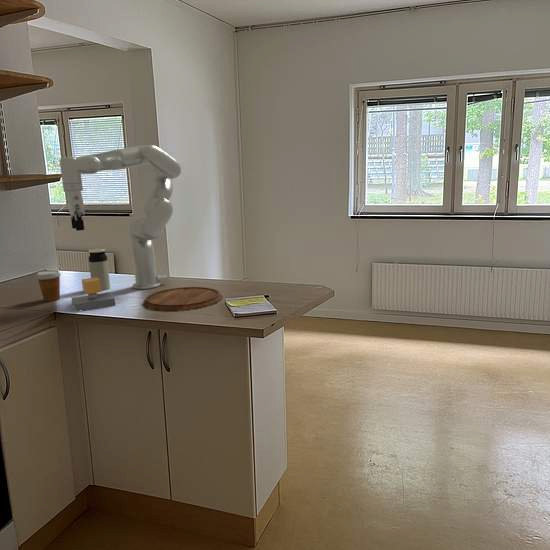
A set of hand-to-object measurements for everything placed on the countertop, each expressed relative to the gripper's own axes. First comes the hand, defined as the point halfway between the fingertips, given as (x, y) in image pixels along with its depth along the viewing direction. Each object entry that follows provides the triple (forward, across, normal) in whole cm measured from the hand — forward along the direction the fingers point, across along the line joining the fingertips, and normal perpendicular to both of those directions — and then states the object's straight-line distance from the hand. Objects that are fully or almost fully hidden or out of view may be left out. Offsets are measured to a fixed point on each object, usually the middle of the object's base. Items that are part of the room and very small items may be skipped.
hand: (78, 229), depth 224 cm
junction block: (+30, -14, 0) cm, 33 cm away
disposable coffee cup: (+30, +7, +13) cm, 34 cm away
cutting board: (+31, -30, -33) cm, 54 cm away
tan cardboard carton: (+24, -14, 0) cm, 28 cm away
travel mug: (+30, +15, -9) cm, 35 cm away
